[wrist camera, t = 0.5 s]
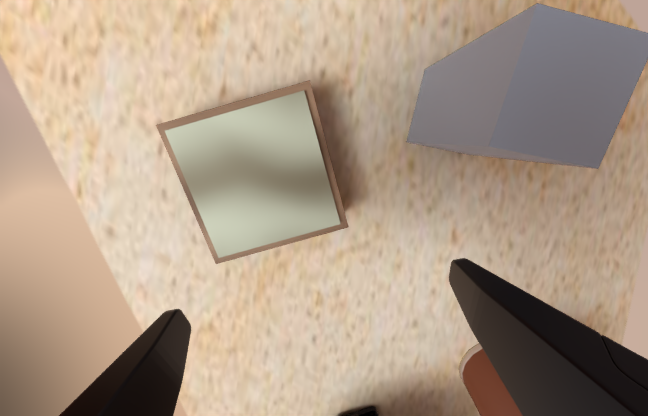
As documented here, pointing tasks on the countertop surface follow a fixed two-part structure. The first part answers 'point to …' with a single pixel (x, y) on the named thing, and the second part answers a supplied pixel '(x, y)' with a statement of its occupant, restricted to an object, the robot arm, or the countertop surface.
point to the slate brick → (532, 90)
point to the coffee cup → (486, 385)
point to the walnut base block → (257, 172)
